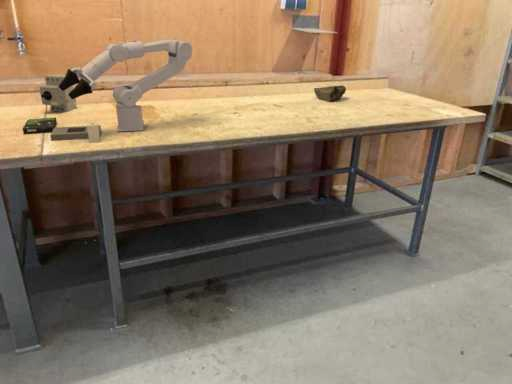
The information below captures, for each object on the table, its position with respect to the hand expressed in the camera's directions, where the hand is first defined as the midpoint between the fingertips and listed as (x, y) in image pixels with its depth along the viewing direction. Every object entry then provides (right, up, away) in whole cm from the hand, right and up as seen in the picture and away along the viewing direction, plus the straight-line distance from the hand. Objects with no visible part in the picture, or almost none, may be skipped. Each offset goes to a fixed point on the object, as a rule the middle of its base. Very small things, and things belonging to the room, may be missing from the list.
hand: (65, 92), depth 143 cm
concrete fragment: (+105, +15, +78) cm, 132 cm away
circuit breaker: (-22, +2, +42) cm, 48 cm away
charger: (+9, -16, +3) cm, 19 cm away
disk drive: (-17, -10, +16) cm, 26 cm away
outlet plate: (+1, -13, +8) cm, 16 cm away
